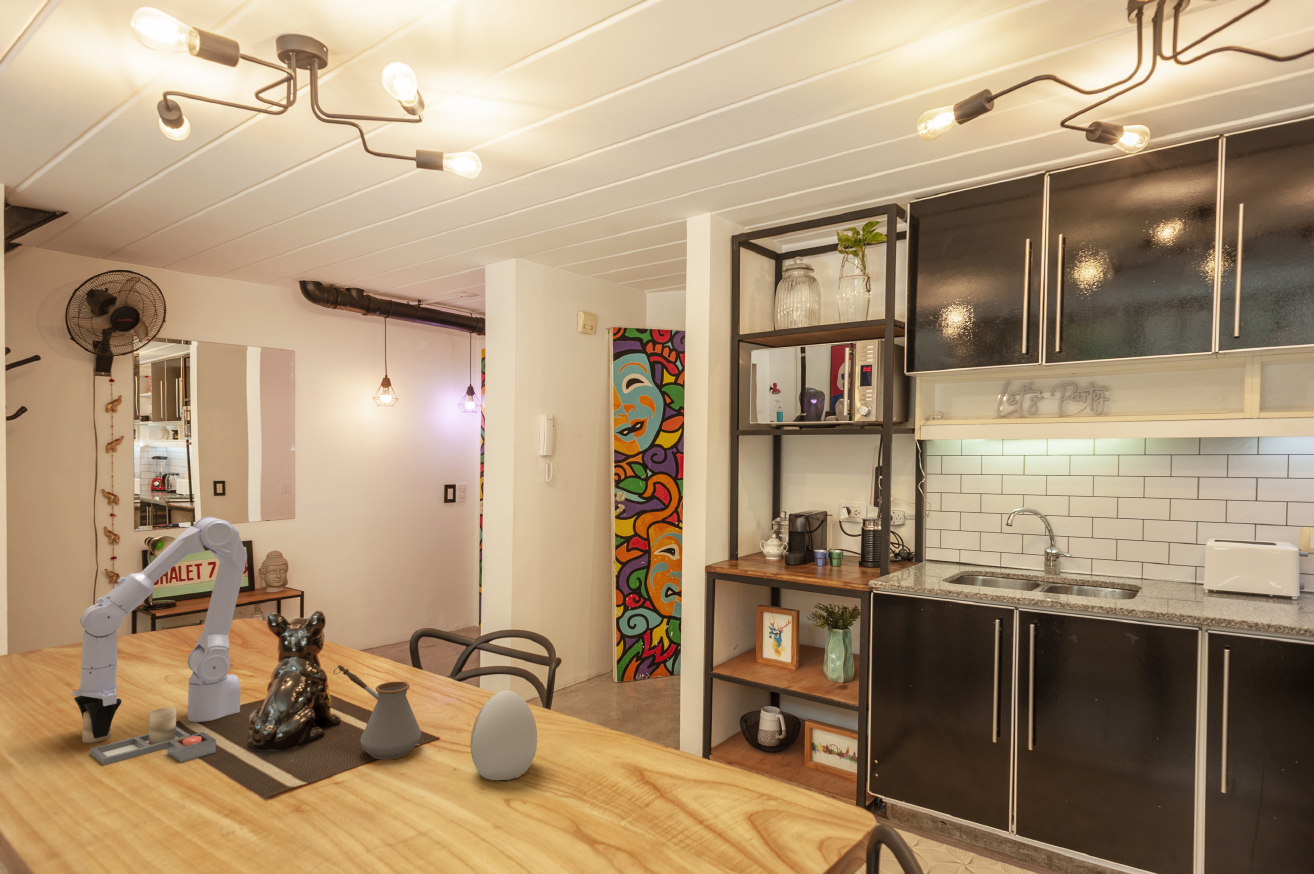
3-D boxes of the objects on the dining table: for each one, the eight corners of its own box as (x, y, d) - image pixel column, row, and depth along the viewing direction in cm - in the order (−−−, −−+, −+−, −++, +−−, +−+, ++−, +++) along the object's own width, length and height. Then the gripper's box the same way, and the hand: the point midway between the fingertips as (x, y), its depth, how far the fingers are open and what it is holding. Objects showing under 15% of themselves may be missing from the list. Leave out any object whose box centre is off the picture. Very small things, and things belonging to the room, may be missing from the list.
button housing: (202, 749, 142) (202, 731, 142) (215, 757, 139) (215, 739, 139) (167, 759, 138) (168, 741, 138) (180, 768, 134) (180, 749, 134)
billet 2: (170, 736, 146) (171, 706, 146) (178, 741, 143) (179, 710, 143) (145, 742, 143) (146, 711, 143) (152, 748, 140) (153, 716, 140)
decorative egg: (513, 752, 144) (515, 677, 144) (549, 773, 135) (551, 692, 136) (457, 770, 135) (459, 690, 136) (492, 793, 127) (494, 707, 127)
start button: (197, 747, 140) (197, 734, 140) (203, 751, 138) (204, 738, 138) (179, 752, 138) (180, 739, 138) (186, 756, 136) (186, 743, 136)
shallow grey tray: (175, 737, 148) (176, 726, 148) (191, 746, 144) (191, 735, 144) (89, 760, 137) (90, 748, 137) (103, 771, 132) (103, 759, 132)
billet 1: (105, 735, 147) (106, 705, 147) (113, 741, 145) (114, 710, 145) (79, 742, 144) (80, 711, 144) (86, 747, 141) (87, 716, 141)
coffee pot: (433, 746, 146) (435, 672, 146) (390, 768, 136) (392, 688, 136) (357, 727, 155) (359, 657, 156) (311, 746, 145) (313, 671, 145)
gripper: (63, 662, 146) (60, 730, 145) (86, 676, 137) (83, 749, 137) (105, 655, 151) (102, 720, 151) (130, 668, 143) (127, 737, 142)
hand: (96, 733), depth 144 cm, fingers closed on billet 1, 4 cm apart
